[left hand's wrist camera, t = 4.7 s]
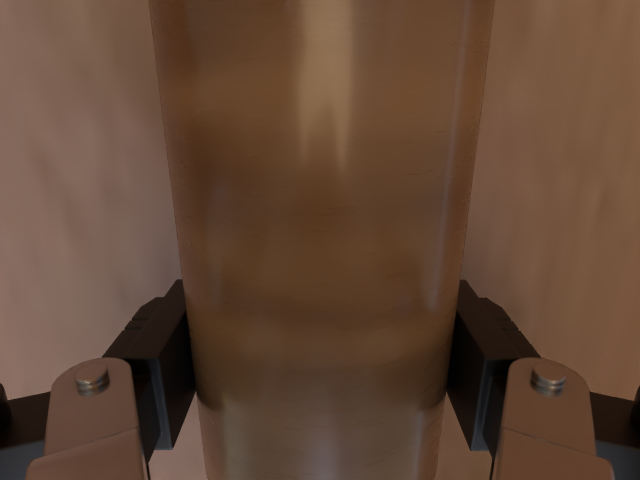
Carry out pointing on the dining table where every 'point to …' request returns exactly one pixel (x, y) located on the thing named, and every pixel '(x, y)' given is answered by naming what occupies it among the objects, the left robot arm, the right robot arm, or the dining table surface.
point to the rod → (321, 223)
